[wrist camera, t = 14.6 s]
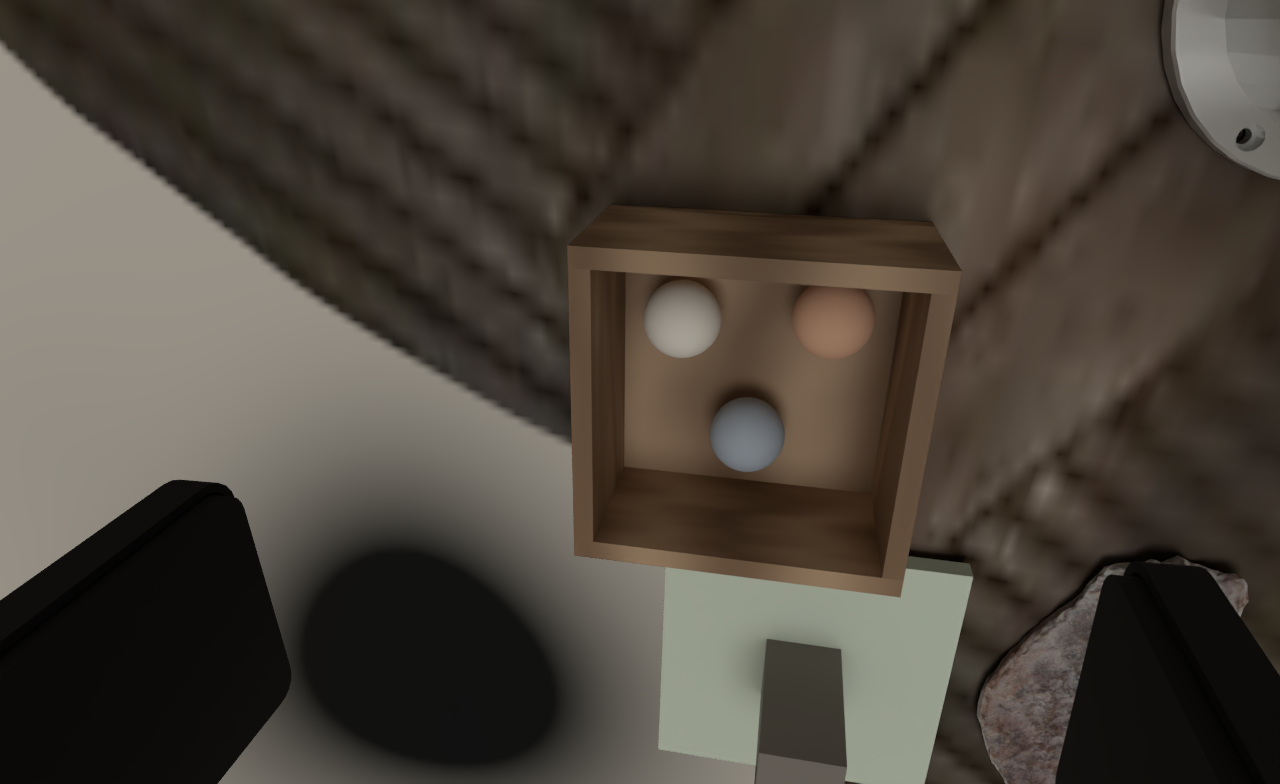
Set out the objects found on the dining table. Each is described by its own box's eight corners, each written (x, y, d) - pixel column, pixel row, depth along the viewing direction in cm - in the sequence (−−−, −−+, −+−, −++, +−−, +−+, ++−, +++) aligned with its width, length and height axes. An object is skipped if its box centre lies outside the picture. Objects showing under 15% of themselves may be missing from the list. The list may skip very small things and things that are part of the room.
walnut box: (932, 222, 32) (962, 271, 26) (885, 501, 38) (900, 597, 31) (611, 204, 34) (567, 245, 28) (611, 470, 40) (574, 555, 33)
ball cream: (727, 272, 34) (719, 296, 31) (722, 344, 35) (715, 373, 32) (651, 267, 34) (637, 290, 31) (649, 338, 36) (635, 366, 33)
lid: (969, 563, 37) (1007, 692, 30) (919, 777, 43) (941, 927, 36) (669, 526, 40) (639, 638, 33) (661, 734, 46) (633, 867, 38)
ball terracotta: (877, 270, 32) (884, 295, 30) (866, 345, 34) (872, 375, 31) (796, 265, 33) (795, 289, 30) (789, 339, 34) (787, 368, 31)
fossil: (1382, 577, 36) (1026, 504, 39) (1435, 621, 33) (1042, 537, 36) (1244, 868, 41) (941, 784, 44) (1277, 930, 38) (948, 835, 41)
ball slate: (789, 389, 35) (787, 421, 32) (782, 453, 37) (780, 489, 34) (715, 382, 36) (707, 413, 33) (711, 445, 37) (704, 481, 34)
